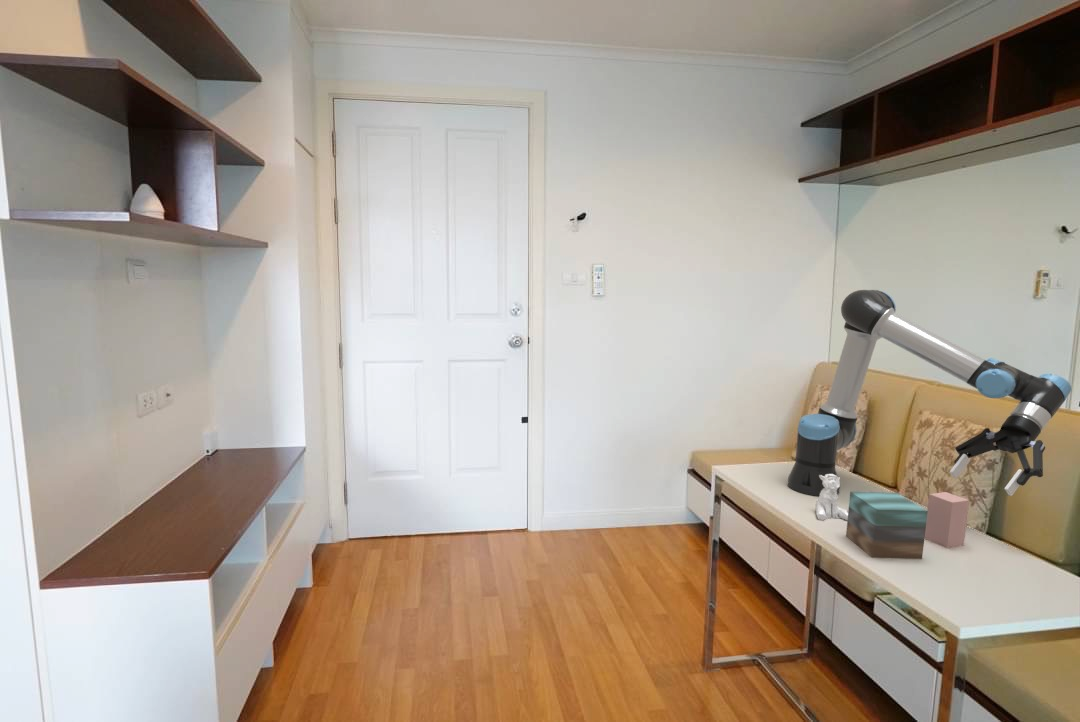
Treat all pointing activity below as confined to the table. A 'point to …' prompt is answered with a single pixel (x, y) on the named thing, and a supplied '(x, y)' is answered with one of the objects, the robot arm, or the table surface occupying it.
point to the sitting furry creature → (829, 499)
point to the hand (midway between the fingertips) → (979, 483)
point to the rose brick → (946, 519)
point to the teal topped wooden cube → (886, 525)
